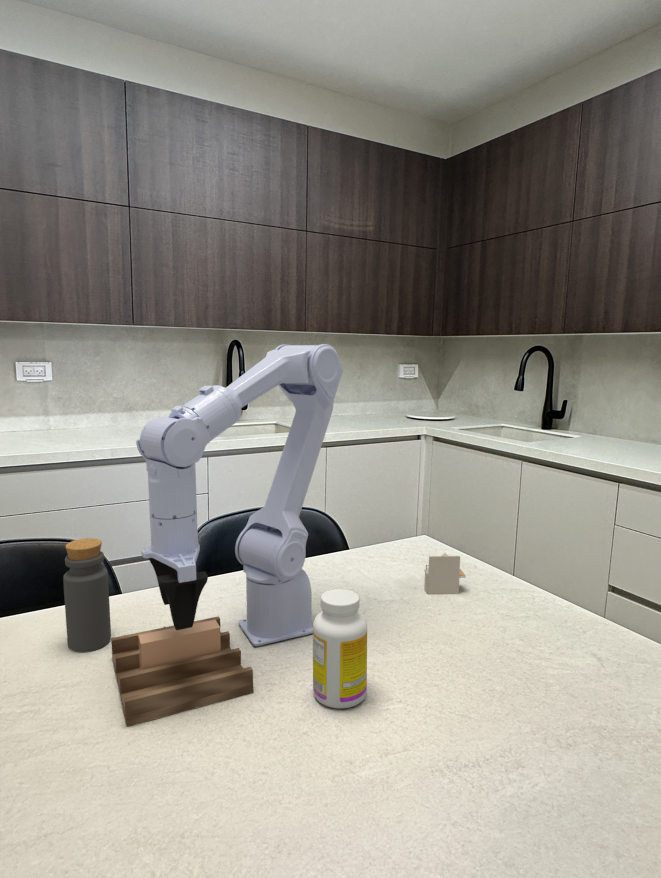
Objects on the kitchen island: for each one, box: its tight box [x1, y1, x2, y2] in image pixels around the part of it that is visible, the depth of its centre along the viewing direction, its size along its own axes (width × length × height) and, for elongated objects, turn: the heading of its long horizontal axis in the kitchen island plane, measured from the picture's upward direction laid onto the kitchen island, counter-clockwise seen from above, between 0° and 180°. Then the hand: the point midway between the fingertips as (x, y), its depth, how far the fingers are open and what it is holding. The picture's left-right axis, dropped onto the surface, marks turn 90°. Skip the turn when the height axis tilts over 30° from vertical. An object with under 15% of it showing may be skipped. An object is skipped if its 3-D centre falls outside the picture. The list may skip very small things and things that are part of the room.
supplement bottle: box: [312, 588, 368, 709], centre depth 69 cm, size 7×7×13 cm
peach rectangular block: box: [138, 620, 221, 671], centre depth 73 cm, size 10×2×5 cm, turn 116°
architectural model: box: [423, 552, 466, 595], centre depth 100 cm, size 3×7×7 cm, turn 93°
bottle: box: [62, 537, 112, 653], centre depth 80 cm, size 6×6×15 cm
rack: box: [110, 615, 254, 727], centre depth 73 cm, size 15×16×3 cm
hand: (177, 614), depth 72 cm, fingers open, 7 cm apart
